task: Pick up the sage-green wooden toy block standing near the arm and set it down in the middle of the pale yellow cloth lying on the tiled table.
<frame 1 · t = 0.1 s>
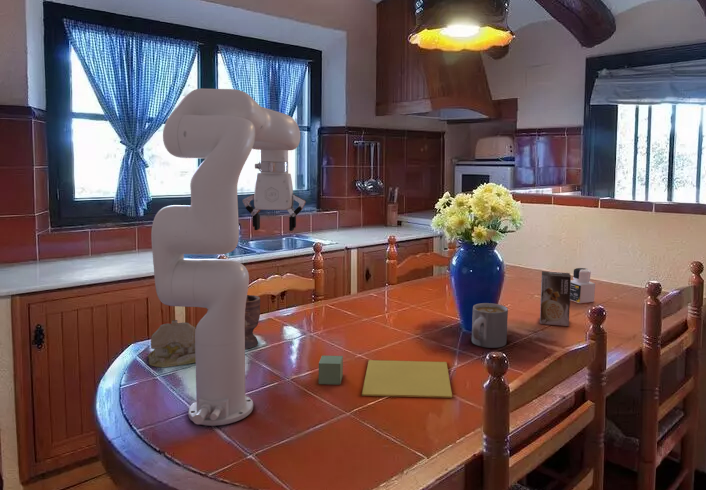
hand: (274, 229, 155), 31 cm above the table, tool pointing down, fingers open, 9 cm apart
toy block: (330, 379, 131), on the table
coffee box: (553, 323, 180), on the table
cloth: (407, 378, 133), on the table
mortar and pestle: (241, 344, 154), on the table
ceramic model: (176, 359, 142), on the table
medicine bottle: (580, 301, 208), on the table
coffee mug: (485, 343, 159), on the table
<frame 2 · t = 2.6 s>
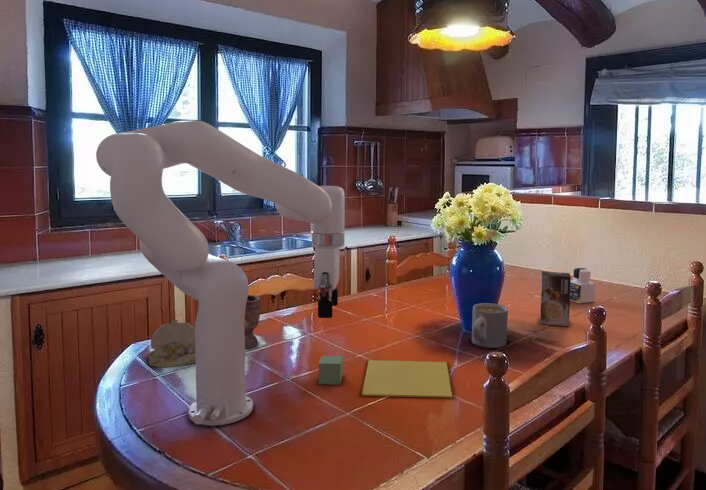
hand: (328, 311, 131), 16 cm above the table, tool pointing down, fingers open, 9 cm apart
nothing on the table moved.
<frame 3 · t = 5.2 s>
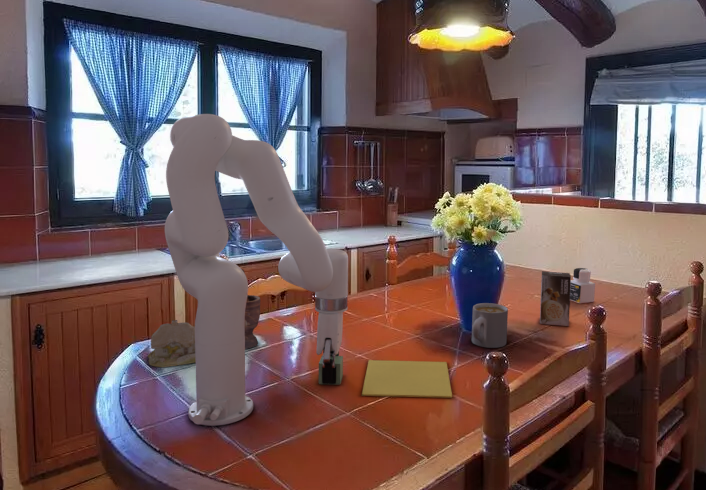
hand: (330, 377, 131), 1 cm above the table, tool pointing down, fingers closed on toy block, 5 cm apart
toy block: (330, 380, 131), on the table, touching gripper
everything else where it was.
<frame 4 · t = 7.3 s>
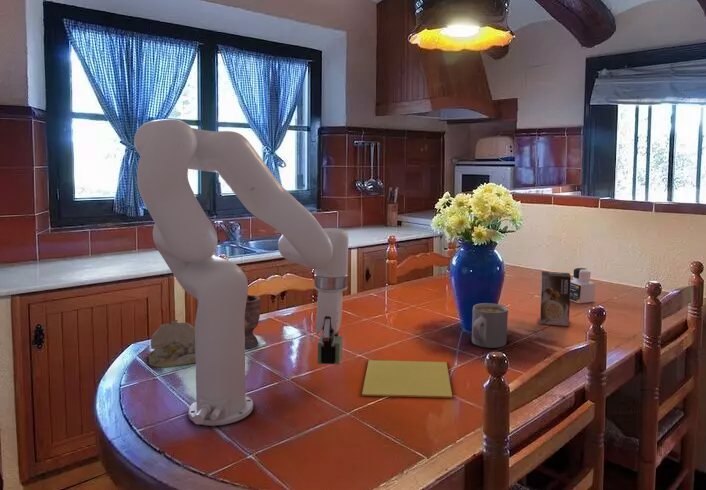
hand: (330, 357, 130), 6 cm above the table, tool pointing down, fingers closed on toy block, 5 cm apart
toy block: (330, 360, 130), point 5 cm above the table, touching gripper
everything else where it was.
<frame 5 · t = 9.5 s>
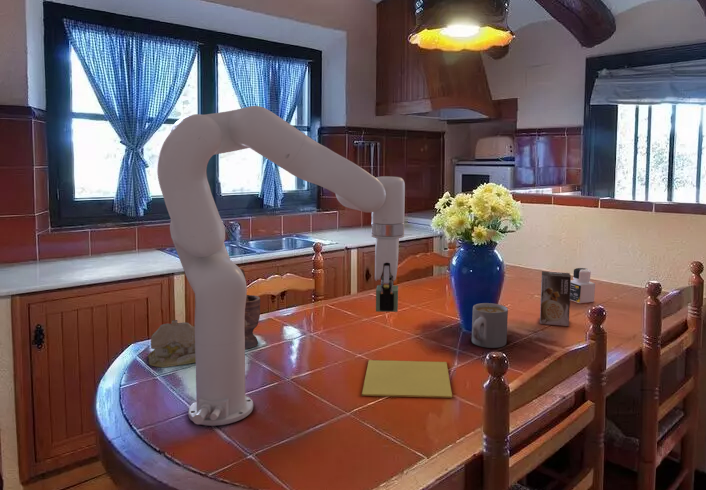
hand: (387, 306, 130), 18 cm above the table, tool pointing down, fingers closed on toy block, 5 cm apart
toy block: (387, 308, 131), point 17 cm above the table, touching gripper
everything else where it was.
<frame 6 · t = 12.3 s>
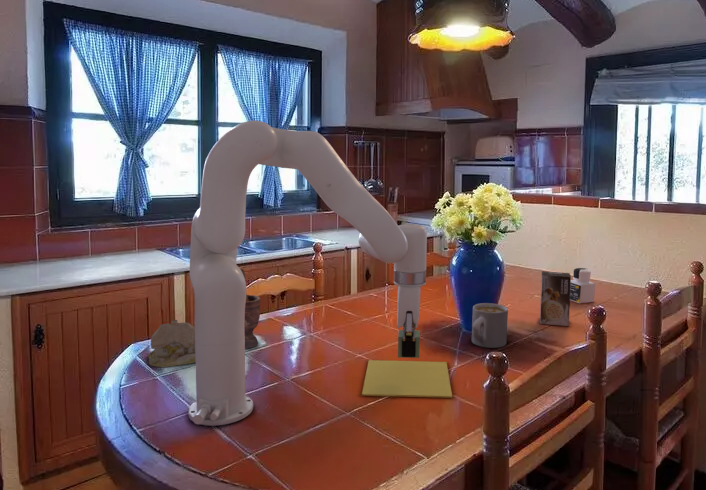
hand: (408, 351, 132), 7 cm above the table, tool pointing down, fingers closed on toy block, 5 cm apart
toy block: (408, 353, 132), point 6 cm above the table, touching gripper
everything else where it was.
when the fingers open (1 cm above the table, at t = 14.0 s): toy block stays where it is, resting on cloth.
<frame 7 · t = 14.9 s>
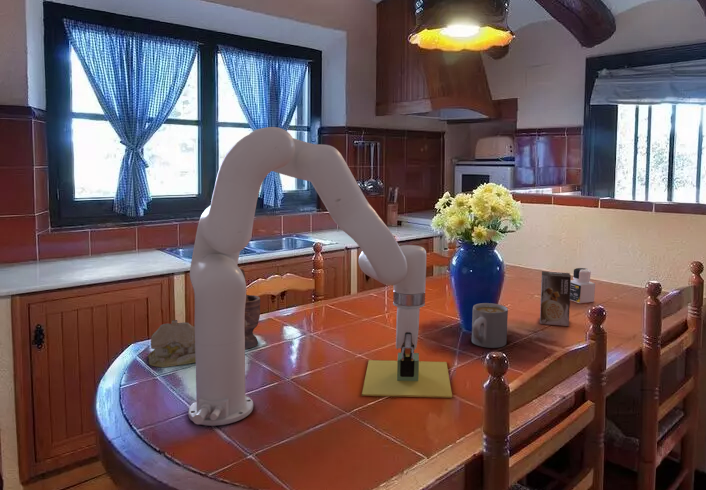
hand: (407, 368, 133), 3 cm above the table, tool pointing down, fingers open, 9 cm apart
toy block: (407, 376, 133), resting on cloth
everything else where it was.
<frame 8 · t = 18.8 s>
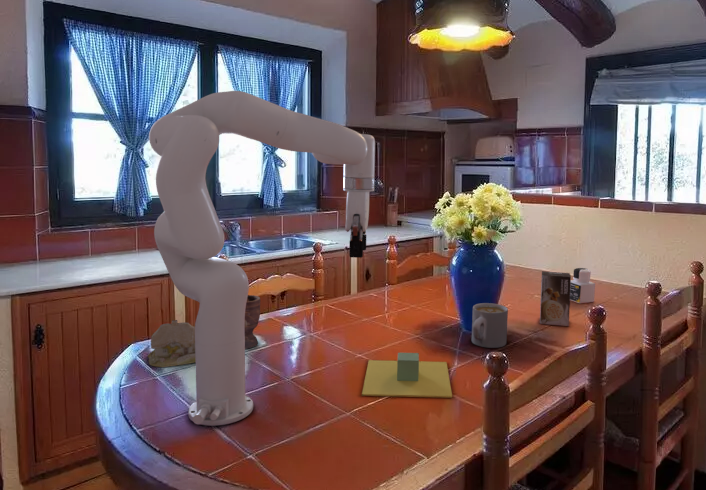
hand: (358, 253, 139), 28 cm above the table, tool pointing down, fingers open, 9 cm apart
nothing on the table moved.
at the end: toy block inside the target area (0.1 cm from its centre), resting on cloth; toy block tilted 0°; the gripper is holding nothing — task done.
